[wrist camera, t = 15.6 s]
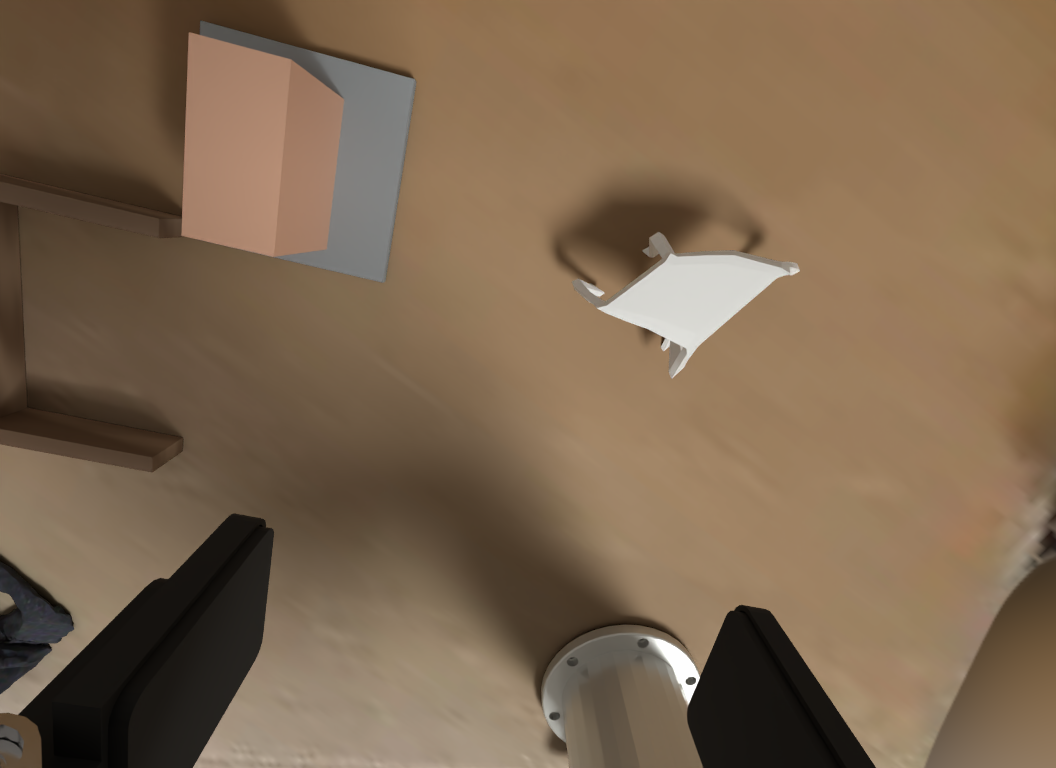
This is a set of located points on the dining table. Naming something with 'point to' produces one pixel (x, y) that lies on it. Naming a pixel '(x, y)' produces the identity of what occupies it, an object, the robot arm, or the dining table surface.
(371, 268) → the grey mat
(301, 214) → the terracotta block
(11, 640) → the dark slate chunk
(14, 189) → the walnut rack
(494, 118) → the dining table surface
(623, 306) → the white legged piece
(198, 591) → the robot arm
